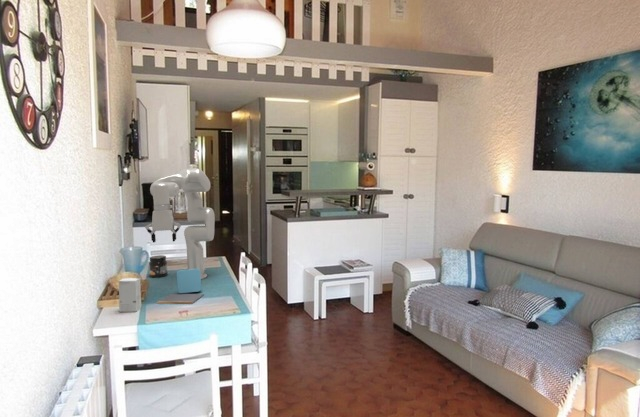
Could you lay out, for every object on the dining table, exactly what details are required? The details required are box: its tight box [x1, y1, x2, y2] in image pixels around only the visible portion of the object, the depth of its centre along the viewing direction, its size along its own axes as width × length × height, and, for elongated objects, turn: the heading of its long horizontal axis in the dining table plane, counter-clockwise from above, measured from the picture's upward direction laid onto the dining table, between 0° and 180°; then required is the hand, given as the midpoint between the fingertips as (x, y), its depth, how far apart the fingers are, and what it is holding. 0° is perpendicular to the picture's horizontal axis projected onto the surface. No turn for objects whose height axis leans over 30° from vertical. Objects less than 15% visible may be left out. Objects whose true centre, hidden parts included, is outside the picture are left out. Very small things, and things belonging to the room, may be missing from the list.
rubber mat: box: [159, 293, 205, 304], centre depth 227 cm, size 14×18×1 cm
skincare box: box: [118, 277, 142, 313], centre depth 211 cm, size 8×6×15 cm
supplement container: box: [148, 254, 169, 279], centre depth 278 cm, size 10×10×12 cm
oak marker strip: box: [156, 300, 194, 305], centre depth 220 cm, size 1×18×1 cm, turn 83°
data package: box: [176, 269, 202, 294], centre depth 238 cm, size 12×4×12 cm, turn 109°
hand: (164, 241), depth 227 cm, fingers open, 9 cm apart
